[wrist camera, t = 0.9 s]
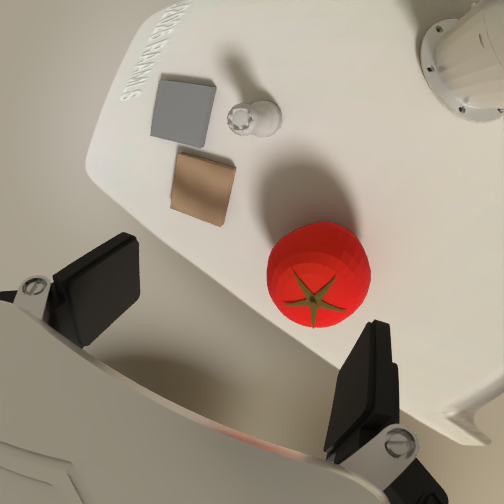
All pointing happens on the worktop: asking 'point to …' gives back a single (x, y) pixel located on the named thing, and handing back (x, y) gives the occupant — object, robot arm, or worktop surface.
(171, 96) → the charcoal coaster
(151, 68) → the worktop surface
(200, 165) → the walnut coaster
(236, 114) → the rook chess piece
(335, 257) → the tomato
